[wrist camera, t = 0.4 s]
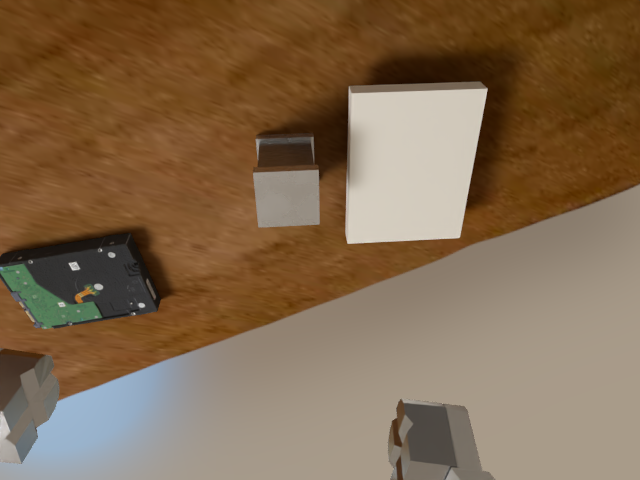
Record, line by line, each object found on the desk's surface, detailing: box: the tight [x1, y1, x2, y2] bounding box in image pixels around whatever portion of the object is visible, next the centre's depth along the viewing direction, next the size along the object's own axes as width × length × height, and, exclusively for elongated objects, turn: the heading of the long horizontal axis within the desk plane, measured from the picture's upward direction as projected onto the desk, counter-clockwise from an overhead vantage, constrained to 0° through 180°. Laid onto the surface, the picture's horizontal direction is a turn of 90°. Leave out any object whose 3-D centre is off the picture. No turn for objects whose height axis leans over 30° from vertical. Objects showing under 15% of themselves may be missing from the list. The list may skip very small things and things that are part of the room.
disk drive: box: [0, 233, 161, 329], centre depth 56 cm, size 10×3×15 cm
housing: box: [253, 133, 319, 227], centre depth 47 cm, size 6×6×8 cm
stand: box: [345, 82, 488, 244], centre depth 49 cm, size 16×12×4 cm
